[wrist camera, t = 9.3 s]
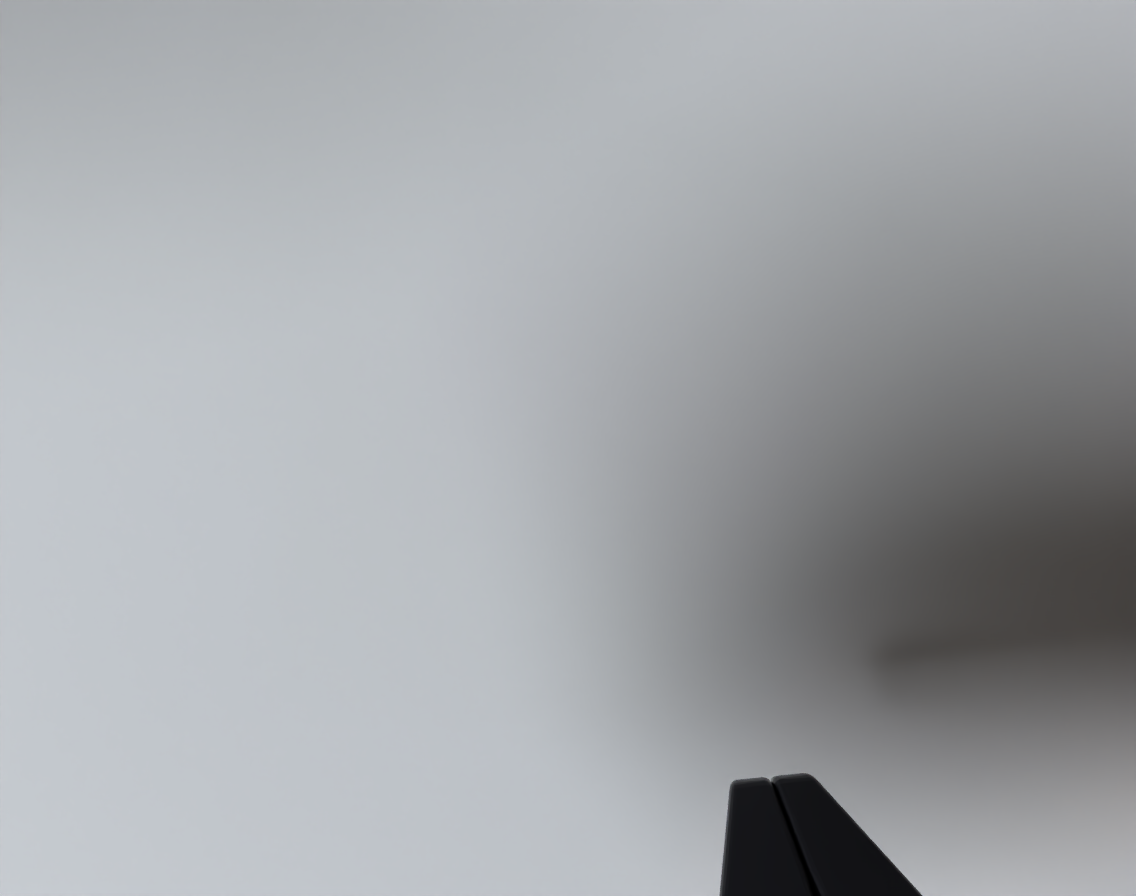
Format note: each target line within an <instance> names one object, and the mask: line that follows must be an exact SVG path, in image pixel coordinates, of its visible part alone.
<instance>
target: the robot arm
mask: <svg viewBox="0 0 1136 896" xmlns="http://www.w3.org/2000/svg"><path fill="white" fill-rule="evenodd" d="M720 896H922V895H921V894H920V892H919V891H918V890H917V889H916V888H915V887H914V886H913V885H912V884H911V883H910V882H909V880H908V879H907V878H906V877H905V876H904V875H903V874H902V873H901V872H900V871H899V869H898V868H897V867H896V866H895V865H894V864H893V863H892V862H891V861H890V860H889V858H888V857H887V856H886V855H885V854H884V853H883V852H882V851H881V850H880V849H879V848H878V846H877V845H876V844H875V843H874V842H873V841H872V840H871V839H870V838H869V837H868V835H867V834H866V833H865V832H864V831H863V830H862V829H861V828H860V827H859V826H858V824H857V823H856V822H855V821H854V820H853V819H852V818H851V817H850V816H849V815H848V814H847V812H846V811H845V810H844V809H843V808H842V807H841V806H840V805H839V804H838V803H837V801H836V800H835V799H834V798H833V797H832V796H831V795H830V794H829V793H828V792H827V790H826V789H825V788H824V787H823V786H822V785H821V784H820V783H819V782H818V781H817V780H816V779H815V778H814V777H813V776H811V775H809V774H806V773H800V774H790V775H780V776H775V777H773V778H772V780H771V782H770V781H769V779H767V778H763V777H761V778H751V779H741V780H735V781H733V782H732V783H731V785H730V791H729V801H728V812H727V822H726V833H725V844H724V854H723V865H722V875H721V886H720Z"/></svg>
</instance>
